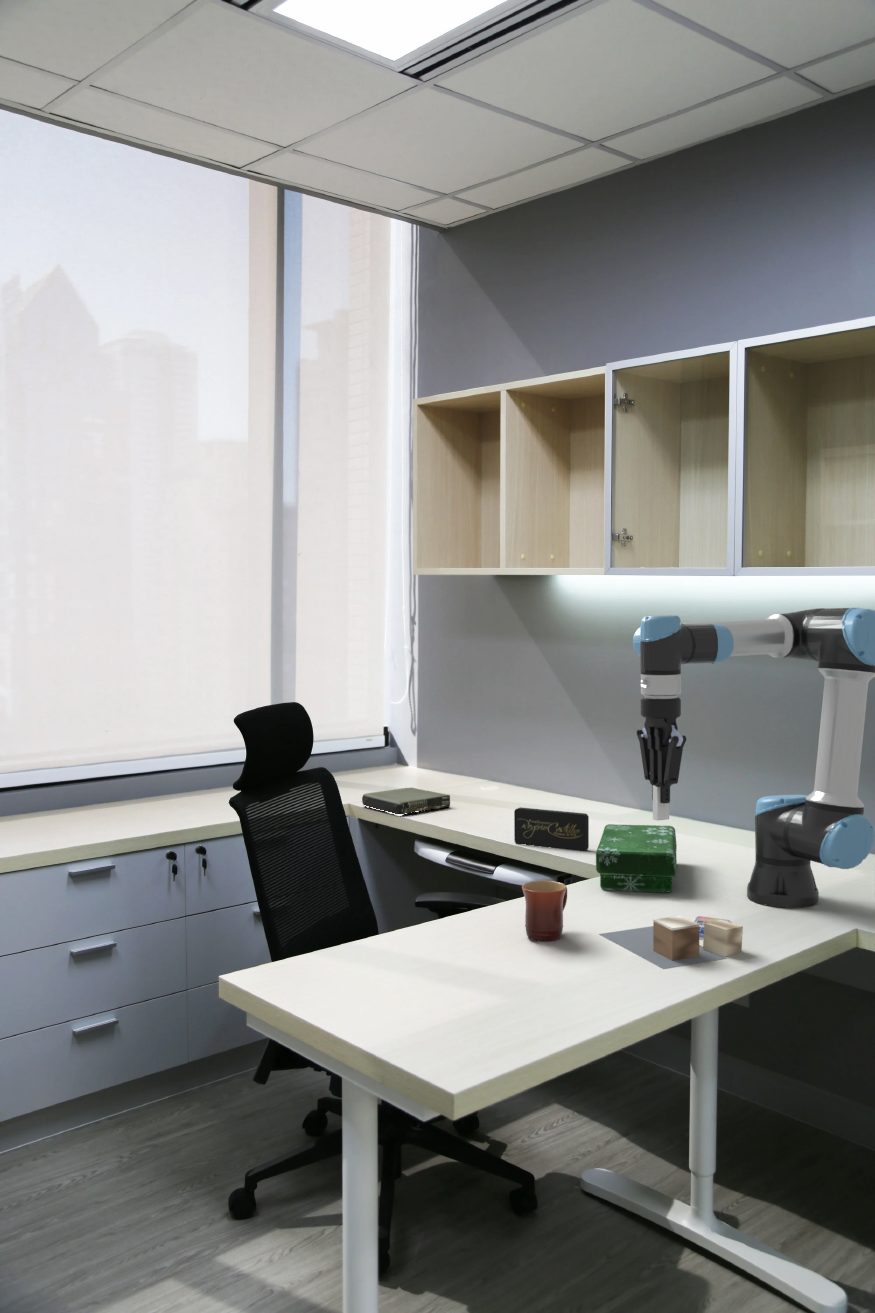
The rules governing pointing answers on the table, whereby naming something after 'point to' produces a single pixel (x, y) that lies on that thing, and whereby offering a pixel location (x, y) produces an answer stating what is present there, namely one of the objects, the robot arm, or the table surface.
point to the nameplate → (551, 829)
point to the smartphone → (701, 921)
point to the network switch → (406, 800)
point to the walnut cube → (676, 937)
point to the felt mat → (642, 946)
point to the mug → (544, 909)
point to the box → (637, 858)
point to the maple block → (722, 937)
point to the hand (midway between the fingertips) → (661, 819)
